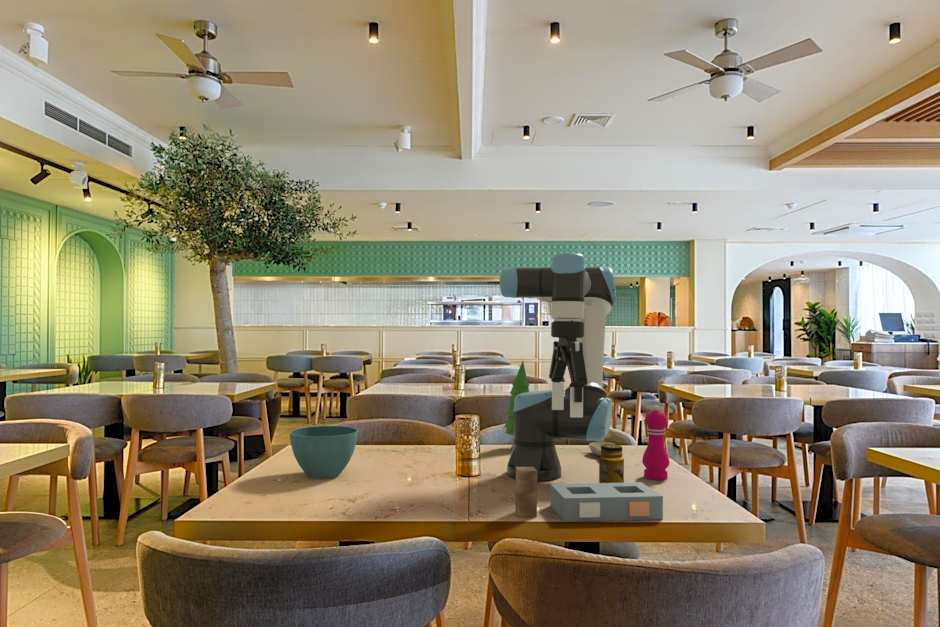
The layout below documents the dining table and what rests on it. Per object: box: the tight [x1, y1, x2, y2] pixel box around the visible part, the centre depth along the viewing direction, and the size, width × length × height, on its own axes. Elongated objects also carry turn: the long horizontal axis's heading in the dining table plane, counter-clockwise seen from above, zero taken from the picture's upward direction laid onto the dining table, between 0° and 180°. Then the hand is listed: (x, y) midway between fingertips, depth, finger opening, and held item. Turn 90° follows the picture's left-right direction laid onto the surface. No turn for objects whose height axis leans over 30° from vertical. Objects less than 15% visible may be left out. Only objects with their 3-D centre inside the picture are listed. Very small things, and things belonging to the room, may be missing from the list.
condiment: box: [598, 443, 625, 483], centre depth 158 cm, size 7×8×12 cm
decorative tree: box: [503, 360, 530, 450], centre depth 213 cm, size 10×9×30 cm
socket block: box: [549, 481, 664, 523], centre depth 142 cm, size 22×13×5 cm, turn 97°
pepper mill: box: [641, 404, 670, 481], centre depth 175 cm, size 7×7×20 cm
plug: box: [514, 467, 538, 518], centre depth 140 cm, size 4×4×10 cm
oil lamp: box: [588, 431, 617, 457], centre depth 204 cm, size 9×21×10 cm, turn 176°
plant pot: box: [289, 425, 359, 480], centre depth 173 cm, size 18×18×12 cm
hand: (566, 413), depth 145 cm, fingers open, 13 cm apart
